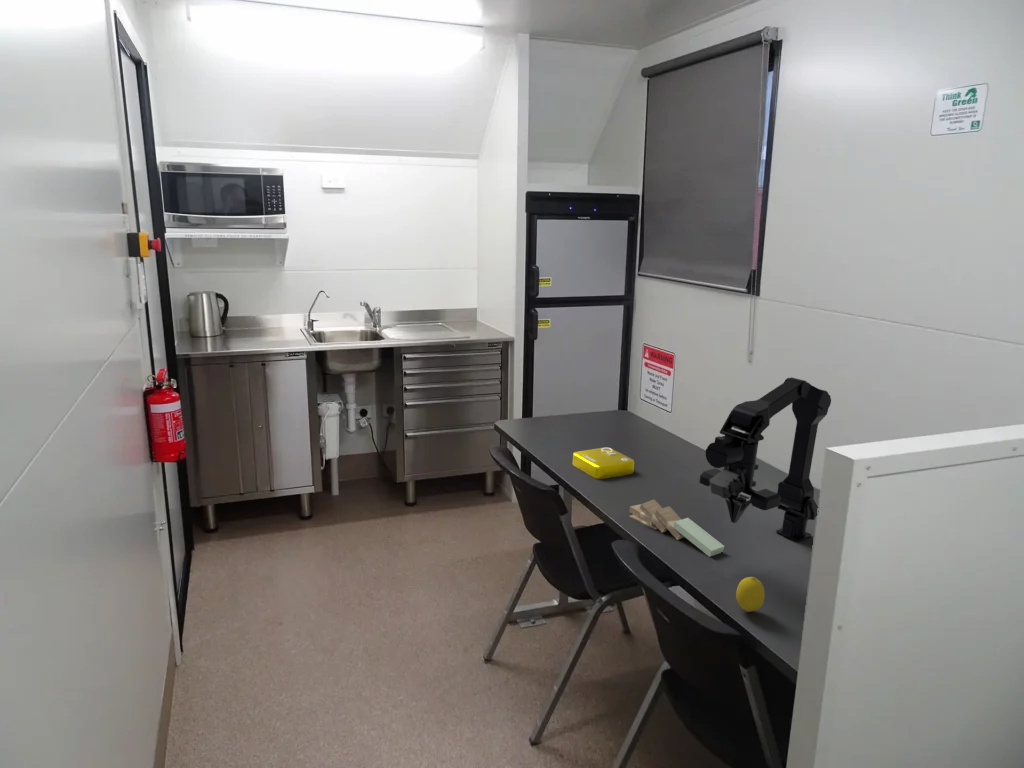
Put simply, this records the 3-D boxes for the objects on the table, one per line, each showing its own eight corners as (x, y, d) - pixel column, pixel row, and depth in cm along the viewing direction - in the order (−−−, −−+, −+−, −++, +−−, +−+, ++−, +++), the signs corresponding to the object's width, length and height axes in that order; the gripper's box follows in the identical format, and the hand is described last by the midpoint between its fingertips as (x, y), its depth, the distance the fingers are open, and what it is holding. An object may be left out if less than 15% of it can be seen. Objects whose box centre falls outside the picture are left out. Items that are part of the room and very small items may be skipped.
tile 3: (651, 525, 184) (629, 511, 192) (665, 522, 187) (643, 508, 194) (651, 519, 184) (630, 506, 191) (665, 516, 186) (643, 503, 194)
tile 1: (677, 539, 178) (654, 514, 183) (689, 535, 180) (666, 510, 186) (679, 535, 177) (656, 510, 182) (692, 531, 180) (669, 506, 185)
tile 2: (662, 532, 181) (639, 508, 186) (674, 527, 184) (651, 503, 189) (664, 528, 180) (641, 504, 185) (677, 523, 183) (653, 499, 188)
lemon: (755, 604, 150) (761, 570, 148) (765, 619, 144) (771, 584, 142) (730, 604, 150) (735, 569, 148) (739, 618, 144) (744, 583, 142)
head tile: (709, 556, 170) (673, 527, 179) (722, 552, 172) (686, 523, 181) (711, 550, 169) (674, 521, 178) (724, 546, 172) (687, 517, 181)
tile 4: (655, 533, 183) (628, 521, 190) (667, 529, 186) (640, 516, 193) (656, 528, 183) (629, 515, 189) (667, 523, 186) (641, 511, 192)
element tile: (569, 464, 227) (570, 450, 226) (607, 458, 234) (608, 444, 233) (597, 481, 215) (598, 466, 213) (636, 474, 222) (637, 459, 221)
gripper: (687, 452, 165) (680, 514, 168) (755, 479, 150) (745, 546, 154) (718, 445, 171) (710, 505, 175) (786, 470, 156) (776, 535, 160)
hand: (733, 522), depth 166 cm, fingers closed
